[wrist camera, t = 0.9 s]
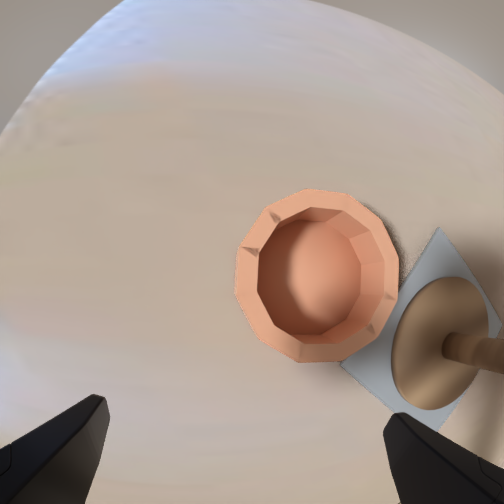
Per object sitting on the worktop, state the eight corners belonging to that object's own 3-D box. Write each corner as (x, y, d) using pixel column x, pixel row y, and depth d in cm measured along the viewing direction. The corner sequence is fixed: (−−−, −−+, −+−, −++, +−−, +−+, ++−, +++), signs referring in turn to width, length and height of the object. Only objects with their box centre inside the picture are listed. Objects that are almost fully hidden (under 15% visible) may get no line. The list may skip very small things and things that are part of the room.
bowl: (387, 304, 23) (418, 307, 18) (275, 372, 21) (287, 392, 17) (331, 187, 23) (353, 167, 19) (209, 245, 22) (206, 235, 17)
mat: (500, 324, 24) (502, 324, 23) (427, 440, 22) (429, 441, 21) (437, 227, 24) (439, 227, 24) (339, 364, 22) (341, 365, 21)
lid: (489, 355, 23) (561, 368, 12) (410, 430, 21) (482, 477, 10) (462, 254, 24) (548, 238, 13) (370, 324, 22) (467, 345, 11)
